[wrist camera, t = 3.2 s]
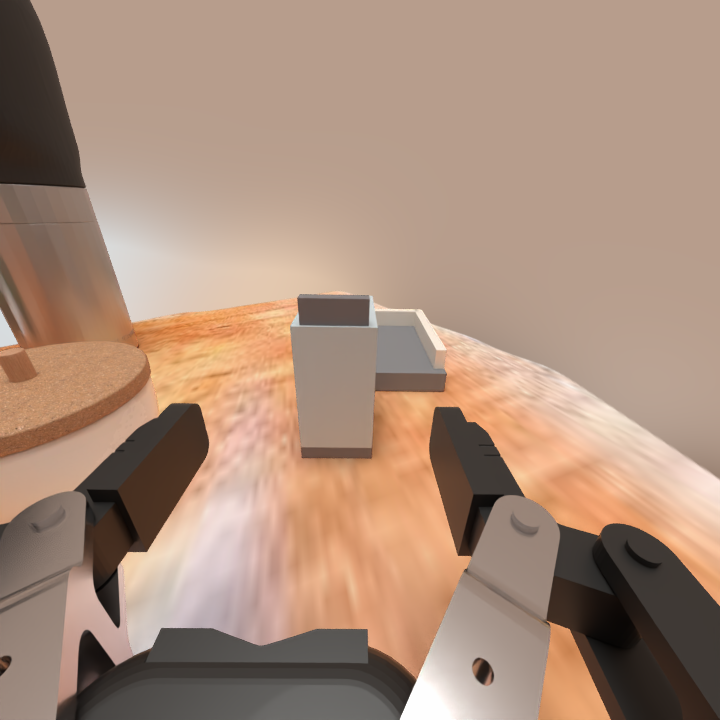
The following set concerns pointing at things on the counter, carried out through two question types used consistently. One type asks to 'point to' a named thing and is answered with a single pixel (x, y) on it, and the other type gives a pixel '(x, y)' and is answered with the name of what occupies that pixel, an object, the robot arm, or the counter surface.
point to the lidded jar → (66, 415)
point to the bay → (422, 327)
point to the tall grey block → (335, 374)
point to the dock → (404, 362)
